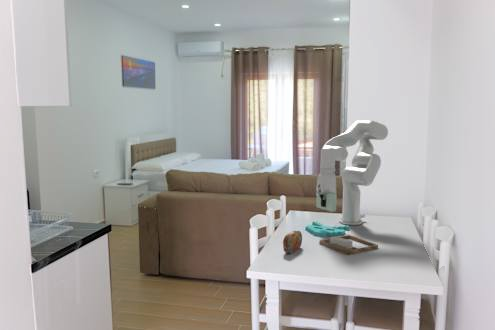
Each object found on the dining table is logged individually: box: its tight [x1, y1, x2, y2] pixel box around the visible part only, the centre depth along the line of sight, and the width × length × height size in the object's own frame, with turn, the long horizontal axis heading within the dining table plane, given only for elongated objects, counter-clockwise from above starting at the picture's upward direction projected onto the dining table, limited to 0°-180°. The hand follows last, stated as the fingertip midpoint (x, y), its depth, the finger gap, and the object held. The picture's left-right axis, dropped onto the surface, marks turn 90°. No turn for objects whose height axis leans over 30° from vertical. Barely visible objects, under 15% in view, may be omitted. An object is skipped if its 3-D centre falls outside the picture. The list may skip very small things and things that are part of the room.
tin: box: [282, 230, 303, 254], centre depth 196 cm, size 15×3×8 cm, turn 148°
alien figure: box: [304, 220, 350, 238], centre depth 227 cm, size 20×2×20 cm
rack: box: [318, 234, 379, 256], centre depth 203 cm, size 19×19×2 cm
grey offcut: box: [329, 235, 353, 248], centre depth 200 cm, size 3×10×2 cm, turn 47°
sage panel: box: [315, 192, 338, 213], centre depth 225 cm, size 3×12×9 cm, turn 31°
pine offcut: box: [329, 242, 354, 251], centre depth 201 cm, size 3×12×2 cm, turn 31°
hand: (326, 205), depth 225 cm, fingers closed on sage panel, 3 cm apart
